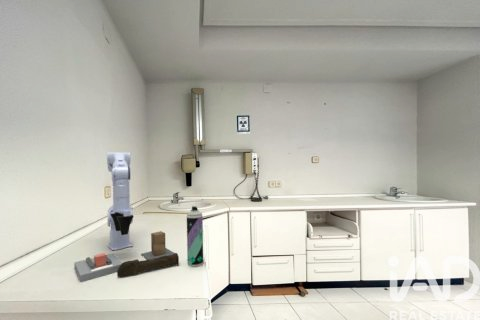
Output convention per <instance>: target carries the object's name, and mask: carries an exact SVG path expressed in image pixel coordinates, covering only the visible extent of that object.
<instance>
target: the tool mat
mask: <svg viewBox="0 0 480 320" xmlns="http://www.w3.org/2000/svg"><path fill="white" fill-rule="evenodd" d="M175 253H176V252H174V251H172V250H170V249H168V248H167V247H166V254H163V255H159V256H154V255H152V254H151V251H147V252H143V253H140V256H142V257H143V256H144V257H145V258H144V257H143V258H144V259H145V260H149V259H154V258H159V257H162V256H168V255H173V254H175Z"/></svg>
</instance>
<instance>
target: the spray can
mask: <svg viewBox="0 0 480 320" xmlns="http://www.w3.org/2000/svg"><path fill="white" fill-rule="evenodd" d="M203 223H204V221H203V212H202V211H200V210H199V209H198V206H197V205H195V206H194V205H192V207H191V210H189V212H188V213H186V247H187V253H186V254H187V255H186V256H187V266H188V267H190V268H191V267H192V268H197V267H201V266H202V265H204V233H203V232H204V229H203V228H204V225H203Z"/></svg>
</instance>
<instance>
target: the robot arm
mask: <svg viewBox="0 0 480 320" xmlns="http://www.w3.org/2000/svg"><path fill="white" fill-rule="evenodd" d="M106 154H107V155H106V156H107V157H106V158H107V159H106V160H107V161H106V162H107V169H108V172H110V173H111V181H112V186H113V187H112V201H113V202H112V203H113V204H112V205H111V206H110V207H108V209H107V227H109V228H110V230H109V244H107V246H108V248H109V249H111V251H119V250H121V249H126V248H131V247H133V246H134V245H133V244H132V243H131V242H130V227H131V225H132V224H133V221H134V214H133V209H134V208H133V207H132V205H131V204H130V203H131V201H130V200H131V199H130V198H131V197H130V181H131V175H132V171H131V153H130V152H129V151H127V152H121V151H120V152H119V151H118V152H115V151H114V152H113V151H112V152H111V151H108V152H107V153H106Z"/></svg>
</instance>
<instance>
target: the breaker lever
mask: <svg viewBox="0 0 480 320" xmlns="http://www.w3.org/2000/svg"><path fill="white" fill-rule="evenodd" d="M106 255H107V254H106V253H105V252H104V253H100V254H96V255H93V258H94V265H95V267H99V266H103V265H106Z"/></svg>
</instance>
